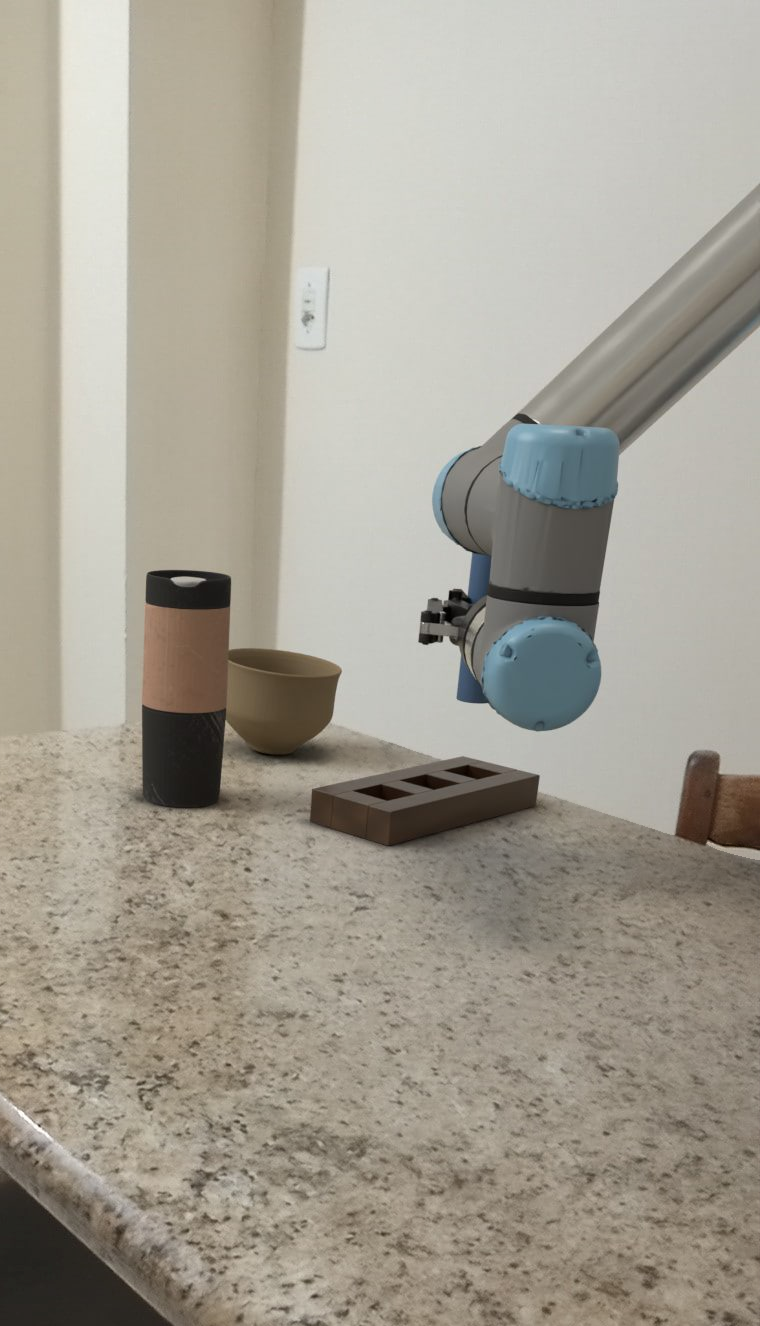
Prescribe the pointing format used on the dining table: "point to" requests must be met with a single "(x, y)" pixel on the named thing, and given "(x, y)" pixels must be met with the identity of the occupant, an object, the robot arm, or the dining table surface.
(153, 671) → the travel mug
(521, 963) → the dining table surface
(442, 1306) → the dining table surface
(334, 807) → the rack
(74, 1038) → the dining table surface
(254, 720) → the bowl
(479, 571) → the peg
